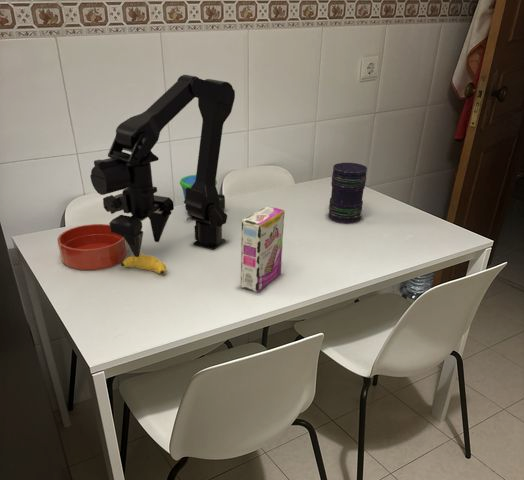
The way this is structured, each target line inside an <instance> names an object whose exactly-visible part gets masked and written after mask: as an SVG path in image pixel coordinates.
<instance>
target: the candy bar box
mask: <svg viewBox="0 0 524 480" xmlns="http://www.w3.org/2000/svg"><path fill="white" fill-rule="evenodd" d="M284 222H285V210H284V209H282V208H278V207H272V206H268V205H266V206H265V207H263V208H261V209H259V210H258V211H256V212H255V213H251V215H249V216H246V217H245V218H243V219H242V220H241V243H240V244H241V246H240V247H241V248H240V252H241V253H240V255H241V256H240V288H241V289H244V290H246V291H247V290H248V291H250V292H254V293H259V292H261V290H263V289H264V288H266V286H268V285H269V284H271V282H273V281H274V280H276V279H277V278H278V277H279V276H281V273H282V256H283V255H282V254H283V238H284V224H285V223H284Z"/></svg>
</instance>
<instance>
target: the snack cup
mask: <svg viewBox="0 0 524 480" xmlns="http://www.w3.org/2000/svg"><path fill="white" fill-rule="evenodd" d="M195 180H196V174H190V175H187V176H183V177H182V178H180V180H179V185H180V187H181V189H182V193H183V194H182V195H183V198H184V200H185V197H186V188H187V187H189V188H191V187H192V185H193V184H194V182H195ZM217 184H218V181H217V180H216V182H215V186H216V187H217Z"/></svg>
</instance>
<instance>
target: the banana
mask: <svg viewBox="0 0 524 480" xmlns="http://www.w3.org/2000/svg"><path fill="white" fill-rule="evenodd" d="M120 267H122V268H123V267H125V268H138V269H142V270H146V271H150V272H151V271H152V272H154V271H155V272H156V273H157V274H158V275H164V274H165V273H166V271H167V270H166V269H167V266H166V264H165V263H164V262H163V261H160V260H159V258H158V257H155V256H151V255H147V254H141V253H140V255H139V257H135V256H134V255H129V256H127V257H126V258H125V260H123V262H121V263H120Z"/></svg>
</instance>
